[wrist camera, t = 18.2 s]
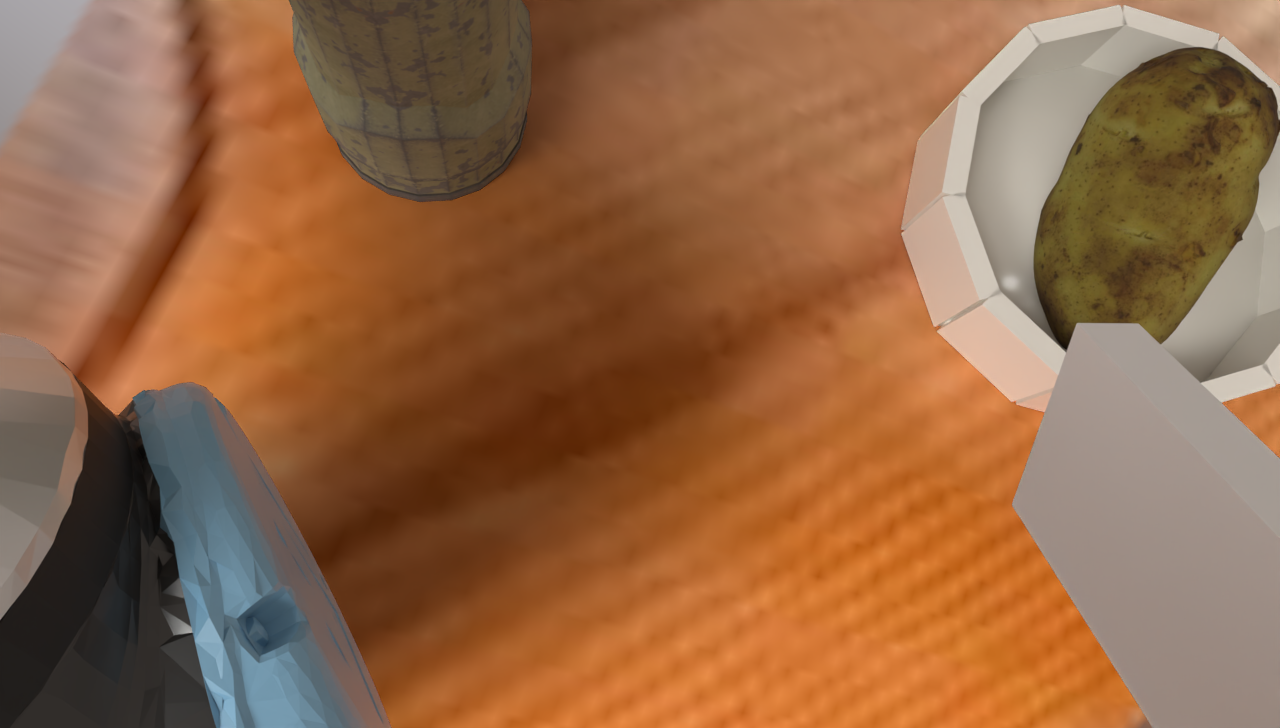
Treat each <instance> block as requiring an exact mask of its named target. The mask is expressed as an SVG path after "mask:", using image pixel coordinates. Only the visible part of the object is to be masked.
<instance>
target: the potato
mask: <svg viewBox="0 0 1280 728" xmlns="http://www.w3.org/2000/svg"><path fill="white" fill-rule="evenodd" d="M1267 86H1268V85H1267V84H1266V83H1265V82H1264V81H1261V80H1260V79H1259V78H1258V77H1257V76H1256V75H1255V74H1254V73H1253V72H1251V71H1250V70H1249V69H1248V68H1247V67H1245V66H1244V65H1242V64H1241V63H1239V62H1238V61H1236V60H1235V59H1233V58H1232V57H1230V56H1229V55H1227V54H1225V53H1223V52H1220V51H1218V50H1215V49H1209V48H1204V47H1188V48H1181V49H1176V50H1173V51H1171V52H1168V53H1166V54H1163V55H1161V56H1158V57H1155V58H1153V59H1151V60H1149V61H1147V62H1145V63H1141V64H1140V65H1139V66H1138V68H1136V69H1134V70H1133V71H1131V72H1129V73H1128V74H1127V75H1125V76H1124V77H1123V78H1122V79H1120V80H1119V81H1118V82H1117V83H1116V84H1115V85H1114V86H1112V87H1111V88H1110V89H1109V90H1108V91H1107V92H1106V94H1105V95H1104V96H1103V97H1102V99H1101V100H1100V101H1099V102H1098V104H1097V105H1096V106H1095V108H1094V109H1093V111H1092V112H1091V114H1089V115H1088V117H1087V119H1086V122H1085V124H1084V126H1083V128H1082V129H1081V131H1080V133H1079V135H1078V137H1077V138H1076V140H1075V142H1074V144H1073V146H1072V148H1071V150H1070V152H1069V155H1068V157H1067V159H1066V162H1065V165H1064V167H1063V170H1062V172H1061V174H1060V177H1059V179H1058V181H1057V183H1056V184H1055V186H1054V187H1053V189H1052V190H1051V192H1050V194H1049V195H1048V197H1047V199H1046V201H1045V203H1044V205H1043V208H1042V210H1041V214H1040V219H1039V223H1038V228H1037V233H1036V239H1035V245H1034V259H1033V269H1034V279H1035V284H1036V289H1037V293H1038V297H1039V300H1040V303H1041V306H1042V308H1043V311H1044V313H1045V316H1046V319H1047V321H1048V324H1049V327H1050V329H1051V331H1052V333H1053V335H1054V337H1055V338H1056V340H1057V341H1058V343H1059V344H1060V345H1061V346H1062V347H1063V348H1064V349H1066V350H1067V349H1068V346H1069V343H1070V341H1071V338H1072V335H1073V332H1074V329H1075V327H1076V324H1077V323H1133V324H1139V325H1141V326H1142V327H1143V328H1144V329H1145V330H1146V331H1147V332H1148V333H1149V334H1150V335H1151V336H1152V337H1153V338H1154V339H1155V340H1156V341H1157V342H1158V343H1159V344H1160V345H1161V344H1162V343H1163V342H1164V341H1165V340H1167V339H1168V338H1169V336H1170V335H1171V334H1172V333H1173V332H1174V331H1175V330H1176V329H1177V327H1178V326H1179V324H1180V323H1181V321H1182V320H1183V319H1184V318H1185V317H1186V315H1187V314H1188V313H1189V312H1190V310H1191V309H1192V307H1193V306H1194V305H1195V303H1196V302H1197V300H1198V299H1199V298H1200V296H1201V295H1202V293H1203V292H1204V290H1205V288H1206V287H1207V285H1208V284H1209V282H1210V281H1211V280H1212V278H1213V277H1214V275H1215V274H1216V273H1217V271H1218V270H1219V268H1220V267H1221V265H1222V264H1223V262H1224V261H1225V260H1226V258H1227V257H1228V255H1229V254H1230V252H1231V251H1232V250H1233V248H1234V247H1235V245H1236V244H1237V242H1239V241H1241V240H1243V238H1242V235H1243V233H1244V232H1245V230H1246V228H1247V227H1248V225H1249V223H1250V221H1251V219H1252V217H1253V215H1254V212H1255V208H1256V204H1257V200H1258V193H1259V174H1260V172H1261V171H1262V169H1263V168H1264V167H1265V165H1266V164H1267V162H1268V160H1269V158H1270V156H1271V153H1272V151H1273V149H1274V146H1275V144H1276V141H1277V137H1278V135H1279V132H1280V120H1279V118H1278V113H1277V109H1278V104H1277V99H1276V96H1275V94H1274V91H1273V89H1272V88H1270V87H1267Z"/></svg>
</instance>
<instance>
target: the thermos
mask: <svg viewBox="0 0 1280 728" xmlns="http://www.w3.org/2000/svg"><path fill="white" fill-rule="evenodd" d="M289 2H290V4H291V7H292V9H293V12H294V14H293V43H294V53H295V56H296V58H297V61H298V63H299V65H300V68H301V70H302V73H303V75H304V77H305V80H306V82H307V85H308V87H309V89H310V92H311V94H312V96H313V99H314V101H315V103H316V106H317V108H318V110H319V113H320V115H321V117H322V119H323V122H324V124H325V126H326V129H327V131H328V132H329V133H330V134H331V135H332V137H333V138H334V139H335V140H336V142H337V144H338V147H339V149H340V151H341V154H342V156H343V157H344V158H345V159H346V160H347V162H348V163H349V164H350V165H351V166H352V167H353V168H354V170H355V171H356V172H357V173H358V174H359V175H360V176H361V178H362V179H364V180H366V181H367V182H369V183H371V184H372V185H374V186H376V187H378V188H379V189H381V190H383V191H384V192H386V193H388V194H390V195H394V196H398V197H402V198H406V199H410V200H414V201H418V202H425V201H445V200H453V199H456V198H458V197H461V196H464V195H467V194H470V193H472V192H475V191H478V190H480V189H482V188H483V187H484V186H486V185H487V184H488V183H489V182H491V181H492V180H493V179H495V178H496V177H497V176H499V175H500V174H501V173H503V172H504V170H505V169H506V167H507V166H508V165H509V163H510V162H511V160H512V159H513V157H514V156H515V154H516V153H517V151H518V150H519V148H520V145H521V141H522V137H523V134H524V130H525V126H526V122H527V107H528V103H529V99H530V95H531V71H532V38H531V27H530V15H529V11H528V9H527V8H526V6H525V5H524V3H523V2H522V0H289Z"/></svg>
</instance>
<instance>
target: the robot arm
mask: <svg viewBox="0 0 1280 728" xmlns="http://www.w3.org/2000/svg"><path fill="white" fill-rule="evenodd" d="M1012 506H1013V508H1014V509H1015V511H1016V512H1017V514H1018V515H1019V517H1020V519H1021V520H1022V522H1023V523H1024V525H1025V527H1026V528H1027V530H1028V531H1029V533H1030V534H1031V536H1032V538H1033V539H1034V541H1035V542H1036V544H1037V546H1038V547H1039V549H1040V550H1041V552H1042V553H1043V555H1044V557H1045V558H1046V560H1047V561H1048V563H1049V565H1050V566H1051V568H1052V569H1053V571H1054V572H1055V574H1056V576H1057V577H1058V579H1059V580H1060V582H1061V584H1062V585H1063V587H1064V588H1065V590H1066V591H1067V593H1068V595H1069V596H1070V598H1071V599H1072V601H1073V602H1074V604H1075V606H1076V607H1077V609H1078V610H1079V612H1080V614H1081V615H1082V617H1083V618H1084V620H1085V621H1086V623H1087V625H1088V626H1089V628H1090V629H1091V631H1092V633H1093V634H1094V636H1095V637H1096V639H1097V640H1098V642H1099V644H1100V645H1101V647H1102V648H1103V650H1104V652H1105V653H1106V655H1107V656H1108V658H1109V659H1110V661H1111V663H1112V664H1113V666H1114V667H1115V669H1116V671H1117V672H1118V674H1119V675H1120V677H1121V678H1122V680H1123V682H1124V683H1125V685H1126V686H1127V688H1128V689H1129V691H1130V693H1131V694H1132V696H1133V697H1134V699H1135V701H1136V702H1137V704H1138V705H1139V707H1140V708H1141V710H1142V712H1143V713H1144V715H1145V716H1146V718H1147V720H1148V721H1149V723H1150V724H1151V726H1152V727H1153V728H1280V458H1279V457H1277V456H1276V455H1275V454H1274V453H1273V452H1272V451H1271V450H1270V449H1269V448H1268V447H1267V446H1266V445H1265V444H1264V443H1263V442H1262V441H1261V440H1260V439H1259V438H1258V437H1257V436H1256V435H1254V434H1253V433H1252V432H1251V431H1250V430H1249V429H1248V428H1247V427H1246V426H1245V425H1244V424H1243V423H1242V422H1241V421H1240V420H1239V419H1238V418H1237V417H1236V416H1235V415H1234V414H1233V413H1231V412H1230V411H1229V410H1228V409H1227V408H1226V407H1225V406H1224V405H1223V404H1222V403H1221V402H1220V401H1219V400H1218V399H1217V398H1216V397H1215V396H1214V395H1213V394H1212V393H1211V392H1210V391H1208V390H1207V389H1206V388H1205V387H1204V386H1203V385H1202V384H1201V383H1200V382H1199V381H1198V380H1197V379H1196V378H1195V377H1194V376H1193V375H1192V374H1191V373H1190V372H1189V371H1188V370H1187V369H1185V368H1184V367H1183V366H1182V365H1181V364H1180V363H1179V362H1178V361H1177V360H1176V359H1175V358H1174V357H1173V356H1172V355H1171V354H1170V353H1169V352H1168V351H1167V350H1166V349H1165V348H1164V347H1162V346H1161V345H1160V344H1159V343H1158V342H1157V341H1156V340H1155V339H1154V338H1153V337H1152V336H1151V335H1150V334H1149V333H1148V332H1147V331H1146V330H1145V329H1144V328H1143V327H1142V326H1141V325H1139V324H1133V323H1077V324H1076V327H1075V329H1074V332H1073V335H1072V338H1071V341H1070V343H1069V346H1068V349H1067V352H1066V355H1065V357H1064V360H1063V363H1062V366H1061V369H1060V371H1059V374H1058V377H1057V380H1056V383H1055V385H1054V388H1053V391H1052V394H1051V397H1050V399H1049V402H1048V405H1047V408H1046V410H1045V413H1044V416H1043V419H1042V422H1041V424H1040V427H1039V430H1038V433H1037V436H1036V438H1035V441H1034V444H1033V447H1032V450H1031V452H1030V455H1029V458H1028V461H1027V464H1026V466H1025V469H1024V472H1023V475H1022V478H1021V480H1020V483H1019V486H1018V489H1017V492H1016V494H1015V497H1014V500H1013V503H1012ZM0 728H391V725H390V722H389V720H388V717H387V715H386V712H385V710H384V707H383V705H382V702H381V699H380V697H379V694H378V692H377V690H376V687H375V685H374V683H373V680H372V678H371V676H370V673H369V671H368V669H367V667H366V664H365V662H364V660H363V658H362V656H361V653H360V651H359V649H358V647H357V645H356V642H355V640H354V638H353V636H352V634H351V632H350V630H349V628H348V625H347V623H346V621H345V619H344V617H343V615H342V613H341V611H340V609H339V607H338V605H337V602H336V600H335V598H334V596H333V594H332V592H331V590H330V588H329V586H328V584H327V582H326V580H325V578H324V576H323V574H322V572H321V570H320V569H319V567H318V565H317V563H316V561H315V559H314V557H313V555H312V553H311V551H310V549H309V547H308V545H307V543H306V541H305V540H304V538H303V536H302V534H301V532H300V530H299V528H298V526H297V524H296V523H295V521H294V519H293V517H292V515H291V513H290V511H289V510H288V508H287V506H286V504H285V502H284V500H283V499H282V497H281V495H280V493H279V491H278V489H277V488H276V486H275V484H274V482H273V481H272V479H271V477H270V476H269V474H268V472H267V470H266V469H265V467H264V465H263V463H262V462H261V460H260V458H259V457H258V455H257V453H256V452H255V450H254V449H253V447H252V445H251V444H250V442H249V440H248V439H247V437H246V436H245V434H244V433H243V431H242V430H241V428H240V427H239V425H238V423H237V422H236V421H235V419H234V418H233V416H232V415H231V413H230V412H229V411H228V410H227V409H226V407H225V406H224V405H223V404H222V403H221V402H219V401H218V400H217V399H216V398H214V397H213V394H212V393H211V392H209V390H208V389H207V388H206V387H203V386H201V385H198V384H195V383H193V382H189V383H180V384H176V385H173V386H170V387H168V388H165V389H162V390H160V391H158V390H147V391H145V390H144V391H142V392H141V393H139V394H137V395H136V396H134V397H133V401H132V402H131V403H130V404H129V405H128V406H127V407H126V408H125V409H124V410H123V411H122V412H121V413H120V414H119V415H115V414H113V413H112V412H111V411H110V410H109V409H108V408H106V407H105V406H104V405H103V404H102V403H101V402H100V401H99V400H98V399H97V397H96V396H95V395H94V394H93V393H92V392H91V391H90V390H89V389H88V388H87V387H86V386H85V385H84V384H83V383H82V382H81V381H80V380H79V379H78V378H77V377H76V376H75V375H74V374H73V373H72V372H71V371H70V370H69V369H68V368H67V366H66V365H65V364H64V363H62V362H61V361H59V360H58V359H57V358H56V357H55V356H54V355H53V354H52V353H51V352H50V351H49V350H47V349H46V348H45V347H43V346H41V345H39V344H37V343H35V342H33V341H31V340H29V339H26V338H23V337H18V336H14V335H9V334H5V333H0Z"/></svg>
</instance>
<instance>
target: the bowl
mask: <svg viewBox="0 0 1280 728" xmlns="http://www.w3.org/2000/svg"><path fill="white" fill-rule="evenodd" d="M1188 47H1204V48H1209V49H1215V50H1218V51H1220V52H1223V53H1225V54H1227V55H1229V56H1230V57H1232V58H1233V59H1235V60H1236V61H1238V62H1239V63H1241V64H1242V65H1244V66H1245V67H1247V68H1248V69H1249V70H1250V71H1251V72H1253V73H1254V74H1255V75H1256V76H1257V77H1258V78H1259V79H1260V80H1261V81H1264V82H1265V83H1266V84H1267V85H1268V86H1267V87H1270V88H1272V89H1273V91H1274V94H1275V96H1276V99H1277V104H1278V109H1277V113H1278V118H1279V120H1280V86H1279V85H1278V84H1276V83H1275V82H1274V81H1273V80H1272V79H1271V78H1270V77H1269V76H1268V75H1266V74H1265V73H1264V72H1263V71H1262V70H1261V69H1260V68H1259V67H1257V66H1256V65H1255V64H1254V63H1253V62H1252V61H1251V60H1250V59H1249V58H1247V57H1246V56H1245V55H1244V54H1243V53H1242V52H1241V51H1240V50H1238V49H1237V48H1236V47H1235V46H1234V45H1233V44H1232V43H1231V42H1230V41H1228V40H1227V39H1226V38H1225V37H1224V36H1223V37H1221V38H1220V39H1219V33H1215V32H1212V31H1209V30H1205V29H1202V28H1199V27H1195V26H1192V25H1189V24H1186V23H1182V22H1179V21H1176V20H1172V19H1169V18H1166V17H1162V16H1159V15H1156V14H1152V13H1149V12H1146V11H1142V10H1139V9H1136V8H1133V7H1129V6H1126V5H1124V6H1123V7H1122V8H1121V6H1120V5H1116V6H1112V7H1107V8H1102V9H1098V10H1093V11H1088V12H1083V13H1079V14H1074V15H1069V16H1065V17H1060V18H1055V19H1051V20H1046V21H1041V22H1037V23H1032V24H1029V25H1028V26H1027V27H1026V26H1025V27H1024V28H1023V29H1022V30H1021V31H1020V32H1019V33H1018V34H1017V35H1016V36H1015V37H1014V38H1013V39H1012V40H1011V41H1010V42H1009V43H1008V44H1007V45H1006V46H1005V47H1004V48H1003V49H1002V50H1001V51H1000V52H999V53H998V54H997V56H996V57H995V58H994V59H993V60H992V61H991V62H990V63H989V64H988V65H987V66H986V67H985V68H984V69H983V70H982V71H981V72H980V73H979V74H978V75H977V76H976V77H975V78H974V79H973V80H972V81H971V82H970V83H969V84H968V85H967V86H966V87H965V88H964V89H963V90H962V91H961V92H960V93H959V95H958V96H957V97H956V98H955V99H954V100H953V101H952V102H951V103H950V104H949V105H948V107H947V108H946V109H945V110H944V111H943V112H942V113H941V114H940V115H939V116H938V117H937V119H936V120H935V121H934V122H933V123H932V124H931V125H930V126H929V127H928V128H927V129H926V131H925V132H924V133H923V134H922V135H921V136H920V139H919V140H918V141H917V147H916V152H915V157H914V162H913V167H912V173H911V178H910V183H909V188H908V194H907V199H906V204H905V209H904V215H903V220H902V225H901V229H902V230H905V231H904V232H902V233H901V235H902V238H903V241H904V243H905V246H906V249H907V252H908V255H909V258H910V261H911V264H912V266H913V269H914V272H915V275H916V278H917V281H918V284H919V286H920V289H921V292H922V295H923V298H924V301H925V304H926V306H927V309H928V312H929V315H930V318H931V321H932V324H933V326H934V327H937V326H940V328H939V329H938V330H937V332H938V333H939V334H940V335H941V336H942V337H943V338H944V339H945V340H946V341H947V342H948V343H949V344H950V345H952V346H953V347H954V348H955V349H956V350H957V351H958V352H959V353H960V354H961V355H962V356H963V357H964V358H965V359H966V360H967V361H968V362H970V363H971V364H972V365H973V366H974V367H975V368H976V369H977V370H978V371H979V372H980V373H981V374H982V375H983V376H984V377H985V378H987V379H988V380H989V381H990V382H991V383H992V384H993V385H994V386H995V387H996V388H997V389H998V390H999V391H1000V392H1001V393H1002V394H1004V395H1005V396H1006V397H1007V398H1008V399H1009V400H1010V401H1011V402H1013V401H1016V405H1020V406H1023V407H1027V408H1031V409H1034V410H1038V411H1042V412H1045V410H1046V408H1047V405H1048V402H1049V399H1050V397H1051V394H1052V391H1053V388H1054V385H1055V383H1056V380H1057V377H1058V374H1059V371H1060V369H1061V366H1062V363H1063V360H1064V357H1065V355H1066V352H1067V350H1066V349H1064V348H1063V347H1062V346H1061V345H1060V344H1059V343H1058V341H1057V340H1056V338H1055V337H1054V335H1053V333H1052V331H1051V329H1050V327H1049V324H1048V321H1047V319H1046V316H1045V313H1044V311H1043V308H1042V306H1041V303H1040V300H1039V297H1038V293H1037V289H1036V284H1035V279H1034V269H1033V259H1034V245H1035V239H1036V233H1037V228H1038V223H1039V219H1040V214H1041V210H1042V208H1043V205H1044V203H1045V201H1046V199H1047V197H1048V195H1049V194H1050V192H1051V190H1052V189H1053V187H1054V186H1055V184H1056V183H1057V181H1058V179H1059V177H1060V174H1061V172H1062V170H1063V167H1064V165H1065V162H1066V159H1067V157H1068V155H1069V152H1070V150H1071V148H1072V146H1073V144H1074V142H1075V140H1076V138H1077V137H1078V135H1079V133H1080V131H1081V129H1082V128H1083V126H1084V124H1085V122H1086V119H1087V117H1088V115H1089V114H1091V112H1092V111H1093V109H1094V108H1095V106H1096V105H1097V104H1098V102H1099V101H1100V100H1101V99H1102V97H1103V96H1104V95H1105V94H1106V92H1107V91H1108V90H1109V89H1110V88H1111V87H1112V86H1114V85H1115V84H1116V83H1117V82H1118V81H1119V80H1120V79H1122V78H1123V77H1124V76H1125V75H1127V74H1128V73H1129V72H1131V71H1133V70H1134V69H1136V68H1138V66H1139V65H1140V64H1141V63H1145V62H1147V61H1149V60H1151V59H1153V58H1155V57H1158V56H1161V55H1163V54H1166V53H1168V52H1171V51H1173V50H1176V49H1181V48H1188ZM1242 238H1243V240H1241V241H1239V242H1237V244H1236V245H1235V247H1234V248H1233V250H1232V251H1231V252H1230V254H1229V255H1228V257H1227V258H1226V260H1225V261H1224V262H1223V264H1222V265H1221V267H1220V268H1219V270H1218V271H1217V273H1216V274H1215V275H1214V277H1213V278H1212V280H1211V281H1210V282H1209V284H1208V285H1207V287H1206V288H1205V290H1204V292H1203V293H1202V295H1201V296H1200V298H1199V299H1198V300H1197V302H1196V303H1195V305H1194V306H1193V307H1192V309H1191V310H1190V312H1189V313H1188V314H1187V315H1186V317H1185V318H1184V319H1183V320H1182V321H1181V323H1180V324H1179V326H1178V327H1177V329H1176V330H1175V331H1174V332H1173V333H1172V334H1171V335H1170V336H1169V338H1168V339H1167V340H1165V341H1164V342H1163V343H1162V344H1161V346H1162V347H1164V348H1165V349H1166V350H1167V351H1168V352H1169V353H1170V354H1171V355H1172V356H1173V357H1174V358H1175V359H1176V360H1177V361H1178V362H1179V363H1180V364H1181V365H1182V366H1183V367H1184V368H1185V369H1187V370H1188V371H1189V372H1190V373H1191V374H1192V375H1193V376H1194V377H1195V378H1196V379H1197V380H1198V381H1199V382H1200V383H1201V384H1202V385H1203V386H1204V387H1205V388H1206V389H1207V390H1208V391H1210V392H1211V393H1212V394H1213V395H1214V396H1215V397H1216V398H1217V399H1218V400H1219V401H1220V402H1225V401H1228V400H1231V399H1235V398H1238V397H1241V396H1245V395H1248V394H1251V393H1255V392H1258V391H1261V390H1265V389H1268V388H1271V387H1275V386H1276V384H1280V132H1279V135H1278V137H1277V141H1276V144H1275V146H1274V149H1273V151H1272V153H1271V156H1270V158H1269V160H1268V162H1267V164H1266V165H1265V167H1264V168H1263V169H1262V171H1261V172H1260V174H1259V193H1258V200H1257V204H1256V208H1255V212H1254V215H1253V217H1252V219H1251V221H1250V223H1249V225H1248V227H1247V228H1246V230H1245V232H1244V233H1243V235H1242Z"/></svg>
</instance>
